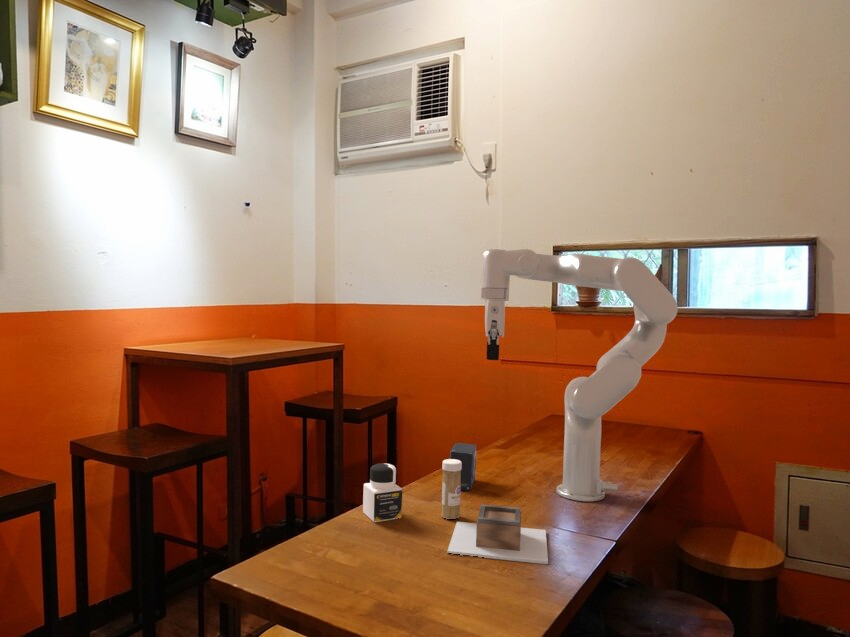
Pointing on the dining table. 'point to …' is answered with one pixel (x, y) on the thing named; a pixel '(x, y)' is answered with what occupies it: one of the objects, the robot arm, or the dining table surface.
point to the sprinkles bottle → (451, 488)
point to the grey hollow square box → (499, 527)
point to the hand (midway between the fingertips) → (492, 358)
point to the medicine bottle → (382, 494)
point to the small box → (465, 463)
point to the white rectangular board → (530, 549)
